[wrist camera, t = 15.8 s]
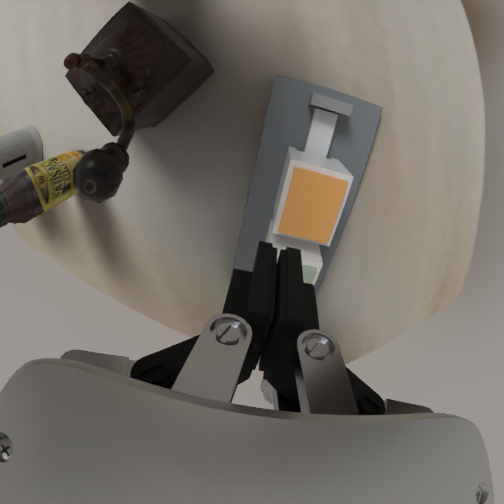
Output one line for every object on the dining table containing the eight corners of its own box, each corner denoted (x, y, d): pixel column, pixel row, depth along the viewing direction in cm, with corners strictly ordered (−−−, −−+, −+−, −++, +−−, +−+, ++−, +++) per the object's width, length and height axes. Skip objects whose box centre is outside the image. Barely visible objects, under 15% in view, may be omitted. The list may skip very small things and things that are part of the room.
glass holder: (21, 117, 29) (-47, 141, 16) (68, 152, 32) (-7, 187, 19) (12, 160, 33) (-48, 192, 20) (55, 198, 36) (-8, 242, 23)
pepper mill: (106, 80, 26) (-5, 91, 11) (165, 18, 22) (70, -26, 7) (176, 161, 32) (88, 222, 16) (246, 102, 27) (200, 100, 12)
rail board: (275, 76, 25) (272, 63, 17) (378, 107, 26) (413, 111, 17) (231, 281, 40) (217, 329, 32) (310, 299, 40) (314, 348, 32)
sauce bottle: (104, 175, 33) (-2, 245, 16) (79, 194, 35) (-15, 264, 18) (84, 137, 31) (-30, 187, 14) (61, 159, 32) (-40, 215, 15)
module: (288, 146, 28) (290, 160, 21) (337, 159, 28) (355, 178, 21) (274, 203, 32) (271, 235, 25) (320, 215, 32) (330, 249, 25)
